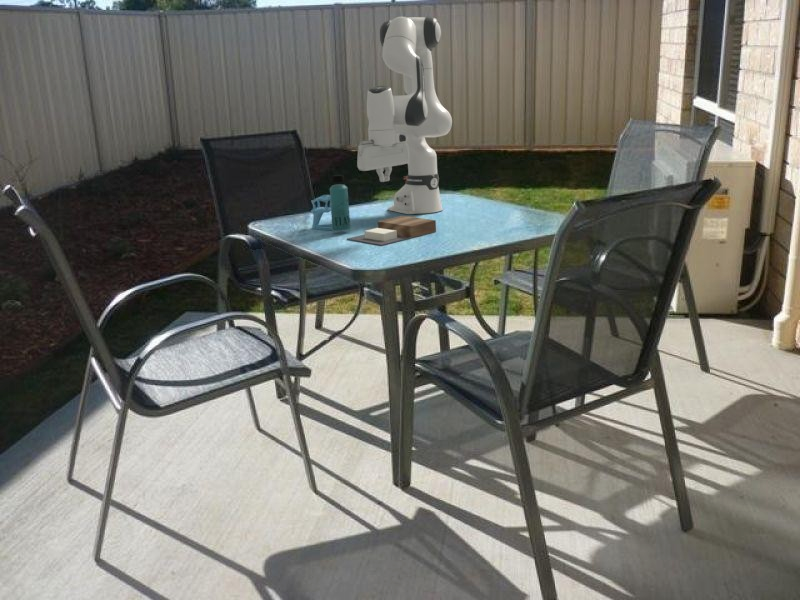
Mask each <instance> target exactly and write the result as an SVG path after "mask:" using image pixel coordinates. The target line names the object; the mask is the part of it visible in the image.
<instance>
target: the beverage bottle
mask: <svg viewBox="0 0 800 600" xmlns="http://www.w3.org/2000/svg"><path fill="white" fill-rule="evenodd" d="M344 181H345V178H344V175H343V174H335V175H332V176H331V182H333V183H338V184H333V185H331V186H330V188H329V195H330V200H331V211H330V215H331V224H332V228H333V230H332V231H347V230H350V229H351V217H350V214H351V213H350V211H351V210H350V199H349V192H348V186H347V185H345V184H342V182H344ZM340 182H341V183H340ZM339 183H340V184H339ZM330 200H329V201H330Z"/></svg>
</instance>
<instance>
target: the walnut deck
mask: <svg viewBox="0 0 800 600" xmlns="http://www.w3.org/2000/svg"><path fill="white" fill-rule="evenodd" d="M376 221H377V220H376ZM436 221H437V220H435V219H429V218H423V217H422V218H421V217H415V216H409V215H400V216H396V217H395V216H394V217H391V218H386V219H381V220H378V221H377V228H382V229H389V230H396V231H397V235H399V236H405V237H411V239H413V238H417V237H422V236H425V235H429V234H433V233H436V232H437V226H436V225H437V222H436Z"/></svg>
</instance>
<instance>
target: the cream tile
mask: <svg viewBox="0 0 800 600" xmlns="http://www.w3.org/2000/svg"><path fill="white" fill-rule="evenodd" d="M364 234H365V238H367V239H374V240H380V241H387V240H390V239H394V238H397V231H396V230H389V229H382V228H378V227H375V228H371V229H366V230H364Z"/></svg>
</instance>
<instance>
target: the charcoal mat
mask: <svg viewBox="0 0 800 600" xmlns="http://www.w3.org/2000/svg"><path fill="white" fill-rule="evenodd" d="M410 239H412V238H411V237H405V236H399V235H397V238H394V239H390V240H387V241H380V240H374V239H367V238H365V233H364V234H362V235H356V236H353V237H347V238H346V240H347V241H352V242H358V243H363V244H369V245H373V246H374V245H375V246H379V247H383V246H388V245H391V244H395V243H399V242H403V241H406V240H410Z"/></svg>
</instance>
